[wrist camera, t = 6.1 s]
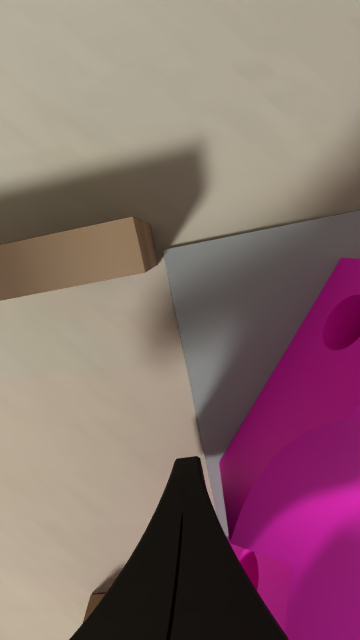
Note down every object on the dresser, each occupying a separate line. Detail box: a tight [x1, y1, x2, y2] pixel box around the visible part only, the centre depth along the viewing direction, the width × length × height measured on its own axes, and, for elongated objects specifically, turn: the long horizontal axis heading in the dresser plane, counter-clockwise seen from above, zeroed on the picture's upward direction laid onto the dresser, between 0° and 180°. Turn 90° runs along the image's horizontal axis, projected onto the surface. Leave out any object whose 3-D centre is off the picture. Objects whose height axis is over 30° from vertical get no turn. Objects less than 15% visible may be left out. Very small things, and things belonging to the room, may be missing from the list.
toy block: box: [219, 257, 360, 640], centre depth 9 cm, size 15×6×8 cm, turn 156°
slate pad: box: [163, 210, 360, 538], centre depth 13 cm, size 8×19×1 cm, turn 11°
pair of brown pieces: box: [0, 217, 158, 623], centre depth 12 cm, size 8×21×3 cm, turn 11°
